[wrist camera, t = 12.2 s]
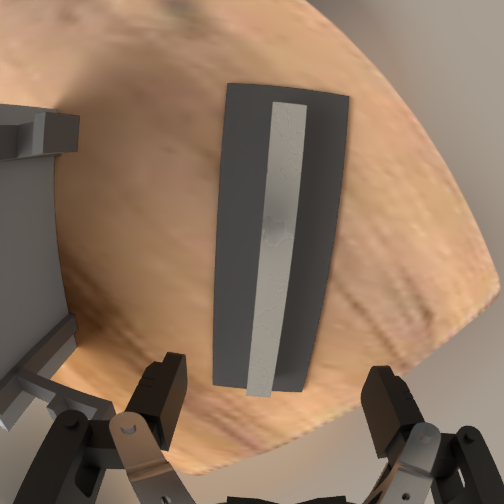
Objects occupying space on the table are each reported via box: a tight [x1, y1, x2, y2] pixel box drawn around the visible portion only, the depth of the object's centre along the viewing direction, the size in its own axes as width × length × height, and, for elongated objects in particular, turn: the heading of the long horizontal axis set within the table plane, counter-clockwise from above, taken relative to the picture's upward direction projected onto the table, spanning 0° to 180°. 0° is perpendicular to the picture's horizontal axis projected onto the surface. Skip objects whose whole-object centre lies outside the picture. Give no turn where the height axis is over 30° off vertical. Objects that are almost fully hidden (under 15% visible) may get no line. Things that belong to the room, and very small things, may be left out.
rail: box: [246, 102, 307, 397], centre depth 24 cm, size 26×2×3 cm, turn 176°
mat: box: [213, 83, 349, 392], centre depth 26 cm, size 30×10×1 cm, turn 175°
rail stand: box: [0, 104, 116, 432], centre depth 19 cm, size 28×13×16 cm, turn 175°
